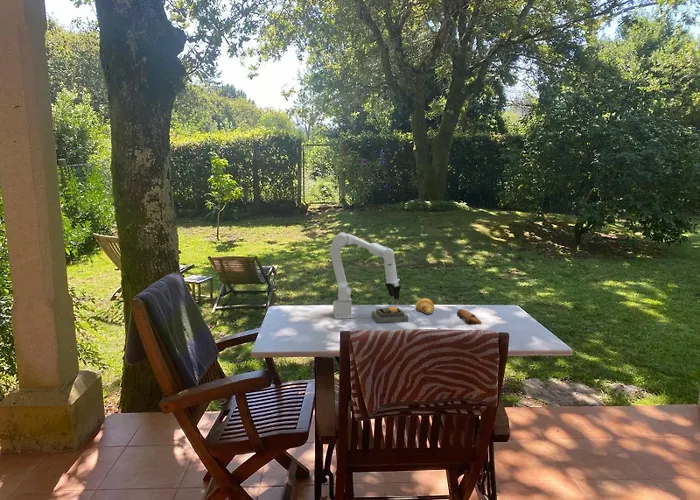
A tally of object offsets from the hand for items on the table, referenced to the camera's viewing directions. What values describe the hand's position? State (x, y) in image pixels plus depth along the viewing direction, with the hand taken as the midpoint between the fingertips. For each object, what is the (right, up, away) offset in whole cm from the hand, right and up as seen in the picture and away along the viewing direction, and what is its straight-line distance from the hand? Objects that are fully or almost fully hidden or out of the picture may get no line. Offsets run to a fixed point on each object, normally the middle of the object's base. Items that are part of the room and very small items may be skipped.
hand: (394, 297), depth 273 cm
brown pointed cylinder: (+39, -12, +1) cm, 41 cm away
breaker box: (-2, -11, 0) cm, 11 cm away
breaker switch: (-2, -7, 0) cm, 8 cm away
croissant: (+18, -9, +19) cm, 28 cm away
